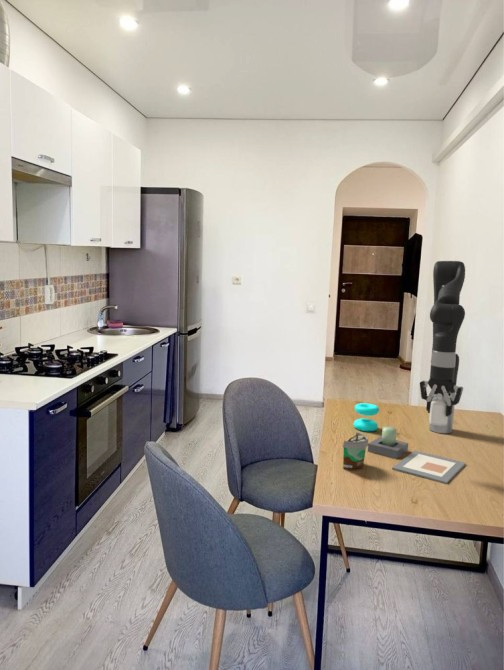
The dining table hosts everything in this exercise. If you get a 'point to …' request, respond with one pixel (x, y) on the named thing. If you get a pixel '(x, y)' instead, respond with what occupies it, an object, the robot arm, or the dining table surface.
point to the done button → (389, 436)
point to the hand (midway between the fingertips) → (438, 414)
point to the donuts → (368, 411)
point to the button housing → (388, 448)
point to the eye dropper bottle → (438, 411)
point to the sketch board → (429, 466)
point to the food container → (354, 452)
